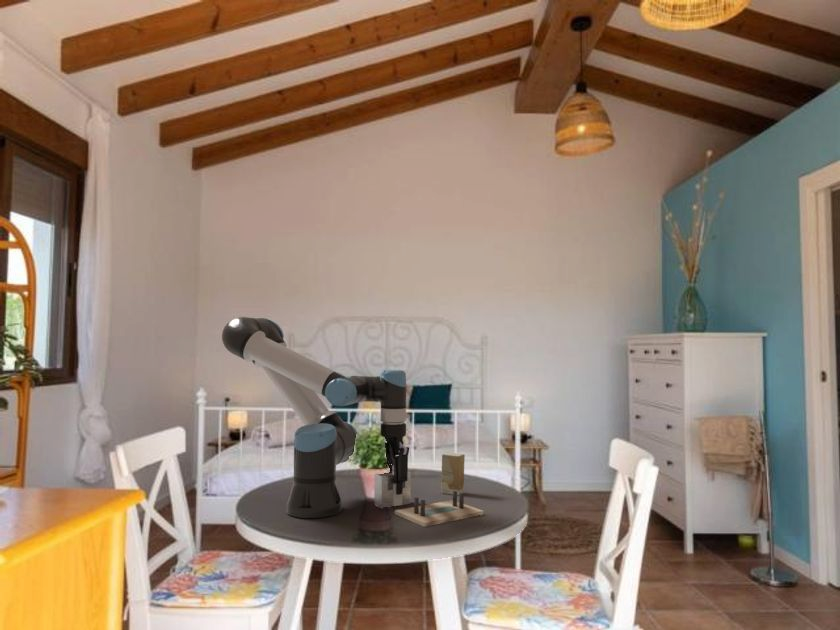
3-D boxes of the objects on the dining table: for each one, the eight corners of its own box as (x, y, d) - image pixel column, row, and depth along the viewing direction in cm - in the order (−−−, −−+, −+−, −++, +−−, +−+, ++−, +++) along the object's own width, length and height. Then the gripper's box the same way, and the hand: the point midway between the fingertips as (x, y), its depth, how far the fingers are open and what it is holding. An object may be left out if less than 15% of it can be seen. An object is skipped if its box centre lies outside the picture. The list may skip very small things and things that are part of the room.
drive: (381, 508, 169) (381, 476, 169) (374, 505, 172) (374, 473, 172) (410, 503, 174) (411, 472, 175) (403, 500, 178) (403, 470, 178)
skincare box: (440, 493, 187) (440, 454, 187) (446, 490, 190) (446, 451, 191) (459, 495, 184) (459, 455, 184) (464, 492, 187) (464, 453, 188)
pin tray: (424, 526, 151) (424, 506, 152) (394, 514, 163) (394, 495, 163) (483, 514, 163) (483, 496, 163) (452, 503, 174) (452, 486, 175)
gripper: (420, 424, 170) (420, 508, 168) (388, 418, 184) (388, 495, 182) (398, 426, 165) (398, 512, 164) (367, 420, 179) (367, 499, 178)
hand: (392, 503), depth 173 cm, fingers closed on drive, 4 cm apart
